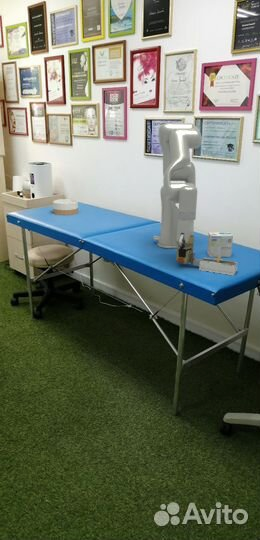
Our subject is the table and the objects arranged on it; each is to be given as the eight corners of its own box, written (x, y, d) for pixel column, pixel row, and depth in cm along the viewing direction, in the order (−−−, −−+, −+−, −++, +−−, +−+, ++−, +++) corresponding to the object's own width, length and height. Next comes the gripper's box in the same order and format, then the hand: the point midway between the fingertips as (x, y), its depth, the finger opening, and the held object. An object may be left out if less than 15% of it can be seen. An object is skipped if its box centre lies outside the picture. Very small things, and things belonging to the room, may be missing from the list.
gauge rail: (198, 270, 175) (199, 261, 174) (203, 265, 181) (203, 256, 180) (233, 275, 169) (234, 266, 168) (236, 270, 175) (237, 261, 174)
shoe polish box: (176, 261, 181) (177, 235, 177) (184, 258, 184) (185, 233, 180) (184, 264, 177) (185, 237, 173) (192, 261, 180) (193, 235, 176)
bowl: (51, 215, 276) (50, 203, 273) (56, 210, 292) (55, 198, 289) (76, 215, 275) (75, 203, 272) (80, 210, 291) (79, 199, 288)
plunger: (190, 264, 178) (191, 253, 176) (192, 262, 181) (193, 251, 179) (218, 268, 173) (219, 257, 171) (220, 266, 176) (221, 255, 174)
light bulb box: (227, 252, 199) (229, 231, 195) (231, 257, 193) (233, 235, 189) (206, 252, 199) (208, 231, 195) (209, 257, 192) (211, 235, 189)
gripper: (184, 210, 182) (182, 248, 188) (172, 218, 167) (170, 259, 173) (200, 212, 179) (198, 250, 185) (189, 220, 164) (186, 261, 171)
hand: (184, 254), depth 179 cm, fingers closed on shoe polish box, 6 cm apart
